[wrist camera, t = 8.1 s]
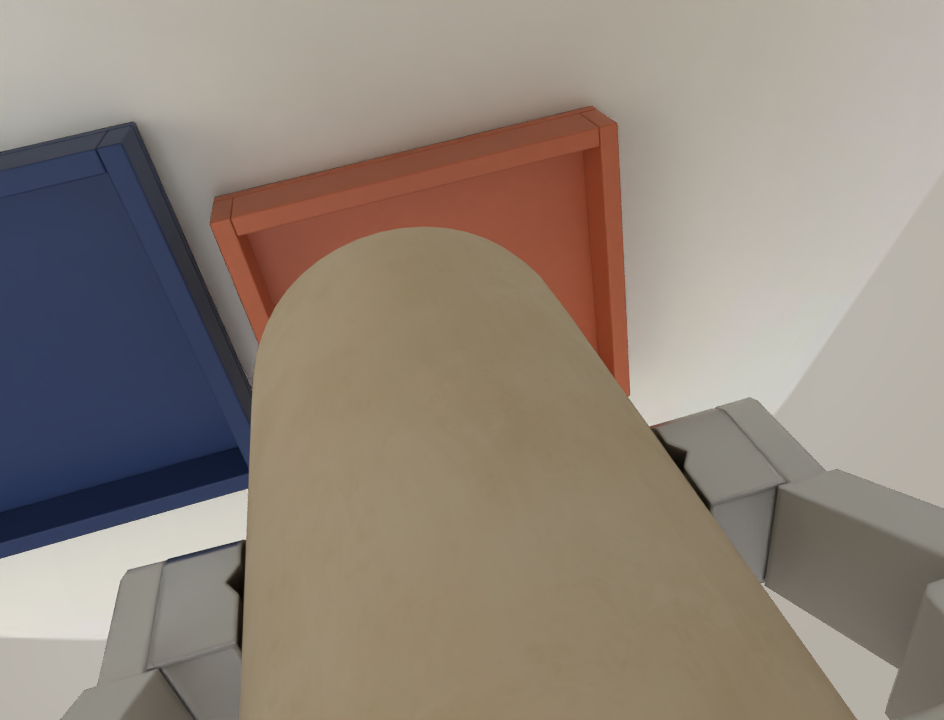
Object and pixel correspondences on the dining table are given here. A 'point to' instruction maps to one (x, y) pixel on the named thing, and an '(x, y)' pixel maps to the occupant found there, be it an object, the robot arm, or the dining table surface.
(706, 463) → the robot arm
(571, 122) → the terracotta tray
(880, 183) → the dining table surface
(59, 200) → the navy tray
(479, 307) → the candle
